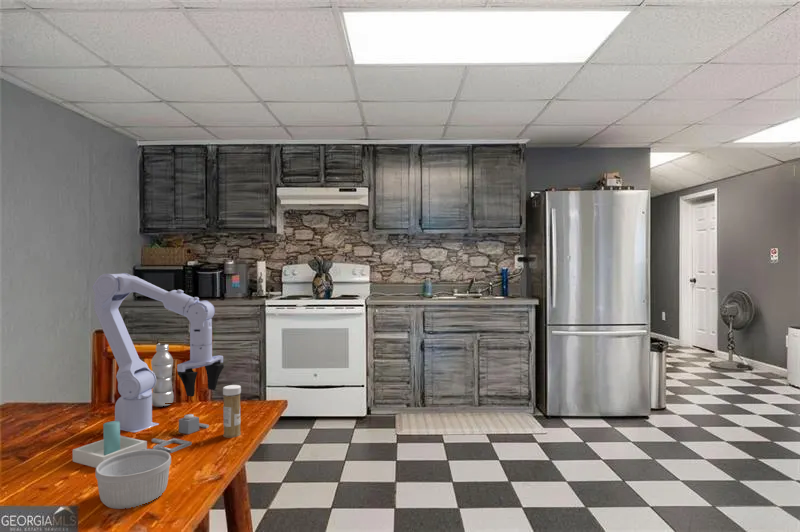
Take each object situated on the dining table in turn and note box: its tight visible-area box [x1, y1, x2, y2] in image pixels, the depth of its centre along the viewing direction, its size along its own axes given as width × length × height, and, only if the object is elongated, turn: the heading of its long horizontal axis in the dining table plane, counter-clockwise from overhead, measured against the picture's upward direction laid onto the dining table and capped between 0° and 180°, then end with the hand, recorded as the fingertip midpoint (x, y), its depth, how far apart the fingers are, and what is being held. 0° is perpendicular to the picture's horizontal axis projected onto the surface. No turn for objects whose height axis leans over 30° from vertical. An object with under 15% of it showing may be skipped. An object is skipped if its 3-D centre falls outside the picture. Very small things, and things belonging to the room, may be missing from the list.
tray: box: [72, 435, 148, 469], centre depth 118 cm, size 11×11×3 cm
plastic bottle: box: [150, 343, 175, 408], centre depth 160 cm, size 6×7×20 cm
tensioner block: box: [142, 437, 193, 454], centre depth 120 cm, size 6×14×2 cm, turn 155°
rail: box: [151, 422, 210, 444], centre depth 132 cm, size 5×15×1 cm, turn 155°
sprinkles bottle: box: [222, 384, 242, 439], centre depth 132 cm, size 5×5×14 cm
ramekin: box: [94, 448, 172, 510], centre depth 98 cm, size 13×13×7 cm
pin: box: [102, 420, 121, 455], centre depth 118 cm, size 3×3×8 cm
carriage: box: [178, 413, 200, 435], centre depth 135 cm, size 4×4×4 cm
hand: (201, 392), depth 139 cm, fingers open, 7 cm apart
